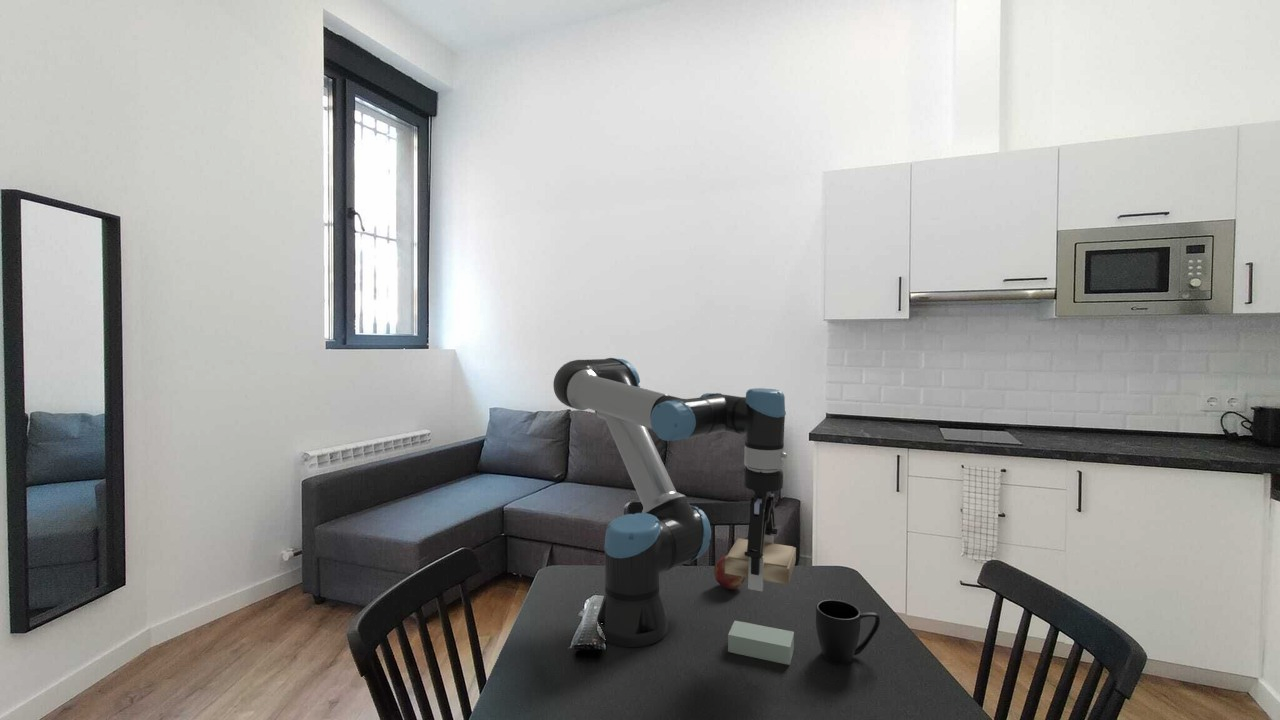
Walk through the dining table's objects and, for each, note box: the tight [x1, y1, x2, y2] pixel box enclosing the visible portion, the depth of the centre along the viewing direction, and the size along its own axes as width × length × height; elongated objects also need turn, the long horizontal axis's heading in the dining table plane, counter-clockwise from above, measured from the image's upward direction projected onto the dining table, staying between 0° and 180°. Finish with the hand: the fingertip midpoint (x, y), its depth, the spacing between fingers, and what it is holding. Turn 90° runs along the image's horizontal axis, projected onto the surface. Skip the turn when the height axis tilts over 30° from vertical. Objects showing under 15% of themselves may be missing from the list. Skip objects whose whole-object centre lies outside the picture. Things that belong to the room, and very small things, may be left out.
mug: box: [815, 599, 881, 665], centre depth 111 cm, size 8×12×10 cm
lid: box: [725, 537, 797, 586], centre depth 113 cm, size 12×11×3 cm
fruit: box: [713, 555, 746, 590], centre depth 141 cm, size 8×8×8 cm
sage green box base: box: [727, 620, 795, 666], centre depth 114 cm, size 12×6×4 cm, turn 68°
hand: (760, 577), depth 113 cm, fingers closed on lid, 11 cm apart
